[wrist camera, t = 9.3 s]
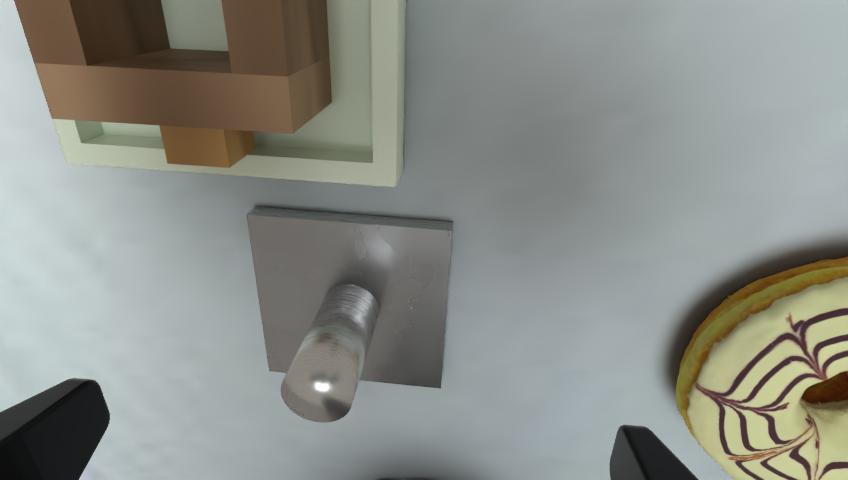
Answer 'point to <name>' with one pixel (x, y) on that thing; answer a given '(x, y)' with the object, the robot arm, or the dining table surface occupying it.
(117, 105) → the brown piece
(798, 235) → the dining table surface
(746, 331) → the decorated donut
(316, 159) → the tray
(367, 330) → the stake
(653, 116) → the dining table surface
